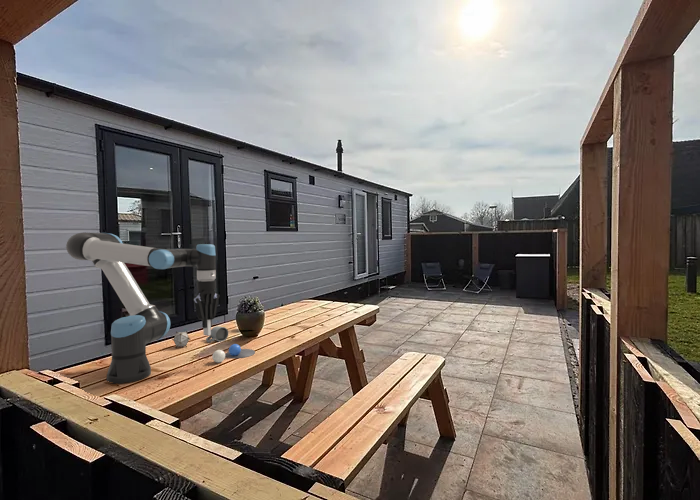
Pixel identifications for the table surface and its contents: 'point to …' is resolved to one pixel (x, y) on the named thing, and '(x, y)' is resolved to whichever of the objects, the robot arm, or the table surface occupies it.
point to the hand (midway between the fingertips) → (207, 334)
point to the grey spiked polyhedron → (181, 339)
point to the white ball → (218, 356)
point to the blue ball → (234, 350)
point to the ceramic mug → (218, 334)
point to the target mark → (241, 354)
